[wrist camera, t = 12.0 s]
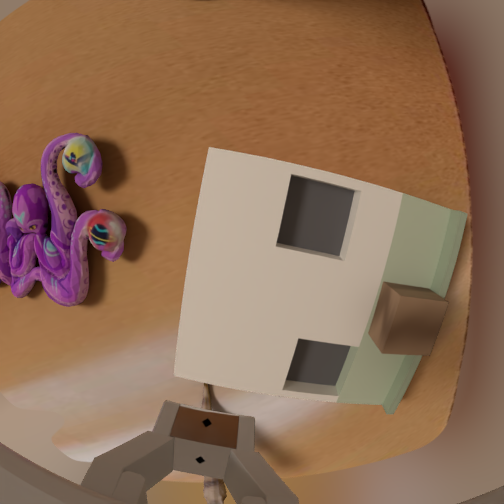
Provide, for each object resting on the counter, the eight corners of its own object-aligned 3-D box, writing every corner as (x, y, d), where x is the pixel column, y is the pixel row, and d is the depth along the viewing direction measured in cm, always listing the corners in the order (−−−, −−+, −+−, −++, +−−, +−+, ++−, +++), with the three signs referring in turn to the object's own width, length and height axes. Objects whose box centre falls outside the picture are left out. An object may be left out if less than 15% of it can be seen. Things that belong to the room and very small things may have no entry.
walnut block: (383, 281, 30) (400, 295, 26) (428, 288, 30) (448, 302, 26) (368, 333, 31) (381, 353, 27) (412, 337, 31) (429, 355, 27)
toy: (225, 492, 34) (198, 517, 25) (181, 389, 42) (145, 390, 33) (271, 480, 34) (254, 506, 25) (224, 373, 42) (195, 372, 33)
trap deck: (213, 150, 30) (205, 144, 26) (445, 209, 31) (467, 213, 26) (178, 364, 35) (169, 385, 31) (382, 394, 36) (393, 414, 32)
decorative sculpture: (145, 300, 35) (129, 124, 29) (130, 319, 30) (109, 119, 25) (-5, 291, 36) (-24, 166, 31) (-24, 302, 32) (-45, 168, 26)
